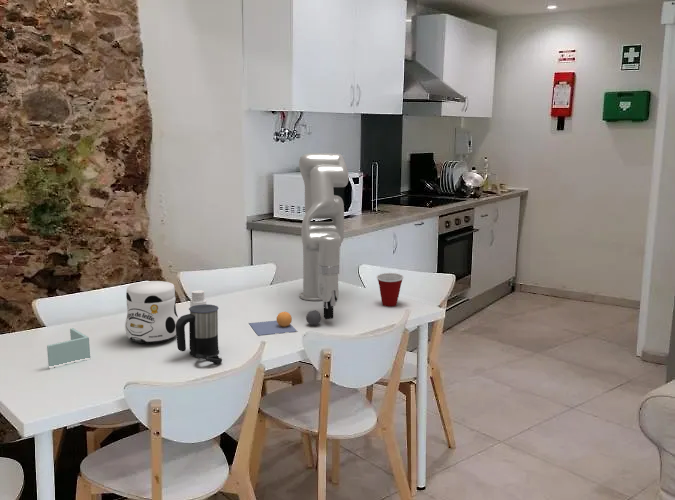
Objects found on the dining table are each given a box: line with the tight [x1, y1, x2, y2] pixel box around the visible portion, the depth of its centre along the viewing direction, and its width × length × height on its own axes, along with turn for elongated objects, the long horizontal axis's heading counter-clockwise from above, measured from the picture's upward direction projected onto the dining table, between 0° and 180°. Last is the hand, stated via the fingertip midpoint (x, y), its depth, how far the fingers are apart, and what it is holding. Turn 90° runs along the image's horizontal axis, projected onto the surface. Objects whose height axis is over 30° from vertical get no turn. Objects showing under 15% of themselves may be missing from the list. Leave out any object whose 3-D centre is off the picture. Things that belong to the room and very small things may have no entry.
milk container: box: [124, 280, 179, 344], centre depth 216 cm, size 17×17×18 cm
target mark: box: [248, 320, 298, 337], centre depth 231 cm, size 14×14×1 cm
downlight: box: [189, 289, 207, 308], centre depth 240 cm, size 8×7×10 cm
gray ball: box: [305, 309, 322, 326], centre depth 234 cm, size 5×5×5 cm
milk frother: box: [175, 303, 223, 365], centre depth 200 cm, size 14×16×15 cm
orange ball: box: [276, 311, 293, 327], centre depth 232 cm, size 5×5×5 cm
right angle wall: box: [46, 327, 91, 367], centre depth 197 cm, size 12×12×8 cm
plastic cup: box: [376, 272, 405, 308], centre depth 260 cm, size 11×11×12 cm
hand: (328, 318), depth 238 cm, fingers closed
